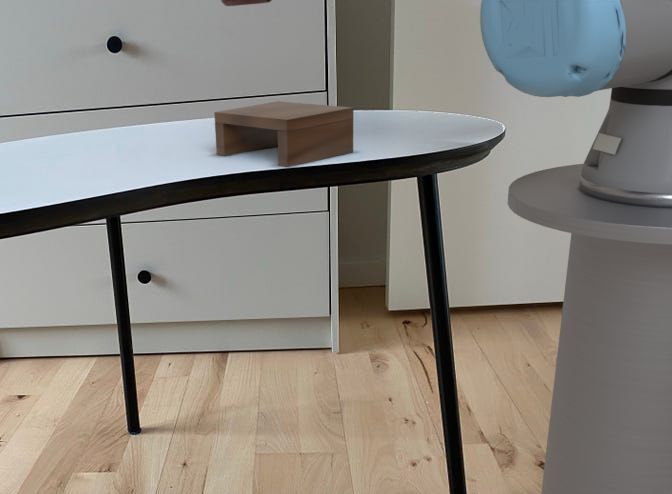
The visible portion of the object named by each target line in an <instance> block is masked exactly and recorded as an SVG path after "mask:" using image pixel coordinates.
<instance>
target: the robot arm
mask: <svg viewBox="0 0 672 494" xmlns="http://www.w3.org/2000/svg"><path fill="white" fill-rule="evenodd" d="M479 10H480V11H479V12H480V13H479V25H480V32H481V38H482V43H483V46H484V49H485V52H486V55H487V58H488V59H489V61H490V63H491V64H492V65H493V68H494V69H495V70H496V72H498V73H500V74H501V75H502V76H503V77H504V79H505V81H506V83H507V84H508V85H510V86H511V87H513V88H514V89H516V90H518V91H519V92H521V93H523V94H527V95H529V96H533V97H539V98H556V97H564V98H567V97H574V98H575V97H576V98H579V97H584V96H588V95H591V94H593V93H595V92H599V91H604V90H610V89H611V93H610V100H609V106H608V110H607V112H606V114H605V117H604V119H603V121H602V123H601V126H600V127H599V129H598V132H597V134H596V135H595V138H594V140H593V142H592V144H591V147H590V149H589V151H588V153H587V155H586V158H585V160H584V162H583V163H582V164H583V167H582V172H581V174H580V183H579V189H580V191H581V192H583V193H584V194H586V195H588V196H590V197H593V198H596V199H599V200H603V201H607V202H612V203H618V204H624V205H631V206H640V207H652V208H672V0H481V2H480V9H479Z"/></svg>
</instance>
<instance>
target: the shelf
mask: <svg viewBox="0 0 672 494" xmlns="http://www.w3.org/2000/svg"><path fill="white" fill-rule="evenodd" d="M214 130H215V132H214V133H215V146H216V149H215V150H216V155H217V156H223V157H227V156H232V155H236V154H241V153H246V152H251V151H257V150H261V149H266V148H271V147H275V146H276V147H277V158H278V159H277V160H278V161H277V162H278V166H281V167H287V168H288V167H294V166H297V165H298V166H299V165H303V164H308V163H311V162H315V161H319V160H320V161H321V160H325V159H329V158H334V157H338V156H342V155H347V154H351V153H352V154H353V152H354V107H352V106H339V105H329V104H327V105H326V104H315V103H303V102H289V101H272V102H267V103H261V104H255V105H249V106H242V107H236V108H231V109H230V108H229V109H225V110H219V111H214Z"/></svg>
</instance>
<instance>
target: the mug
mask: <svg viewBox="0 0 672 494" xmlns="http://www.w3.org/2000/svg"><path fill="white" fill-rule="evenodd" d="M272 1H273V0H220V3H222V4H223V6H225V7H237V6H247V5H258V4H269V3H271V2H272Z"/></svg>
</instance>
